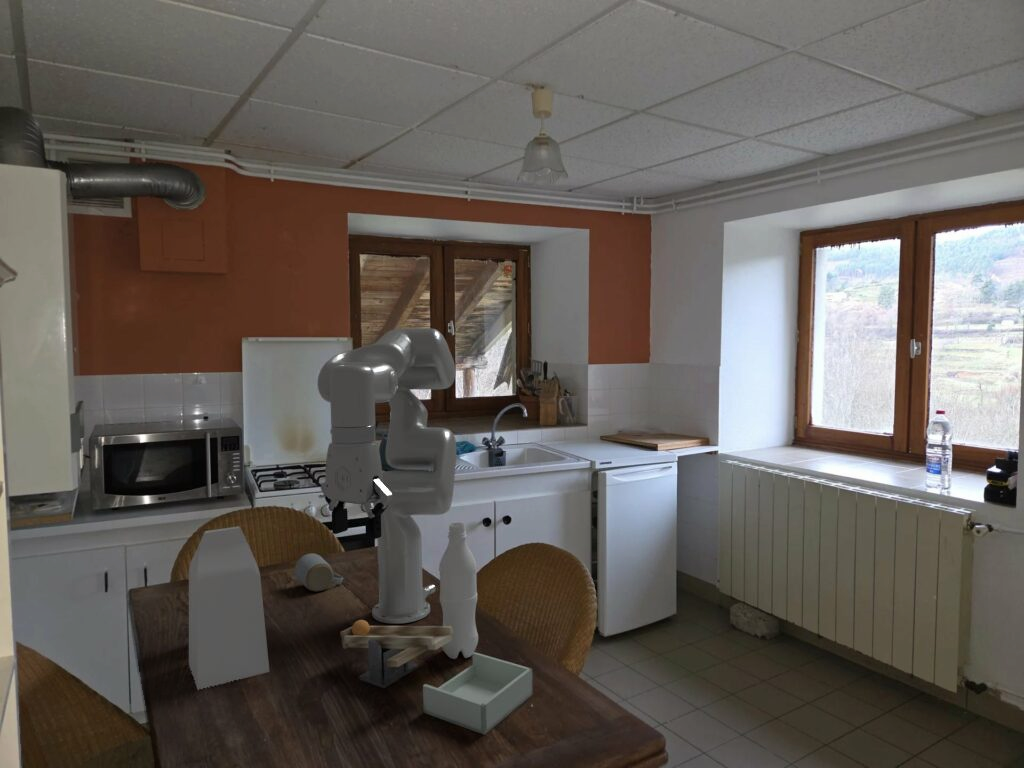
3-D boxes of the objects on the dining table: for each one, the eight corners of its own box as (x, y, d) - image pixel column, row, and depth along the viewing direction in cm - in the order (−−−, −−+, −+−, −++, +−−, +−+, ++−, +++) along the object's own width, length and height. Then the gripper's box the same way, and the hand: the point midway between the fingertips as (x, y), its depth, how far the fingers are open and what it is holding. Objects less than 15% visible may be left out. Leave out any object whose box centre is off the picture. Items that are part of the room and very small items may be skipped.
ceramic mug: (306, 596, 164) (305, 564, 164) (294, 586, 171) (294, 555, 170) (348, 587, 171) (348, 556, 170) (335, 578, 177) (335, 548, 177)
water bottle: (461, 641, 138) (459, 517, 136) (486, 653, 133) (483, 524, 131) (433, 653, 133) (430, 524, 131) (457, 665, 128) (454, 532, 126)
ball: (365, 636, 131) (358, 620, 131) (375, 631, 129) (369, 615, 130) (352, 642, 128) (345, 626, 129) (363, 638, 126) (356, 621, 127)
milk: (197, 690, 120) (191, 542, 119) (188, 664, 130) (182, 527, 128) (269, 671, 127) (264, 531, 125) (255, 648, 136) (250, 518, 135)
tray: (475, 676, 124) (474, 652, 123) (532, 694, 117) (532, 668, 117) (423, 712, 112) (423, 685, 112) (484, 734, 105) (483, 706, 105)
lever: (314, 662, 122) (311, 645, 122) (365, 637, 132) (362, 621, 132) (406, 667, 110) (402, 648, 110) (454, 638, 120) (451, 621, 120)
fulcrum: (359, 679, 123) (358, 639, 123) (394, 659, 131) (393, 622, 130) (384, 688, 120) (383, 647, 120) (418, 667, 127) (417, 629, 127)
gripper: (302, 435, 123) (306, 533, 124) (374, 441, 113) (377, 548, 114) (335, 430, 129) (338, 524, 130) (405, 436, 119) (408, 537, 120)
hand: (356, 534), depth 122 cm, fingers open, 7 cm apart
